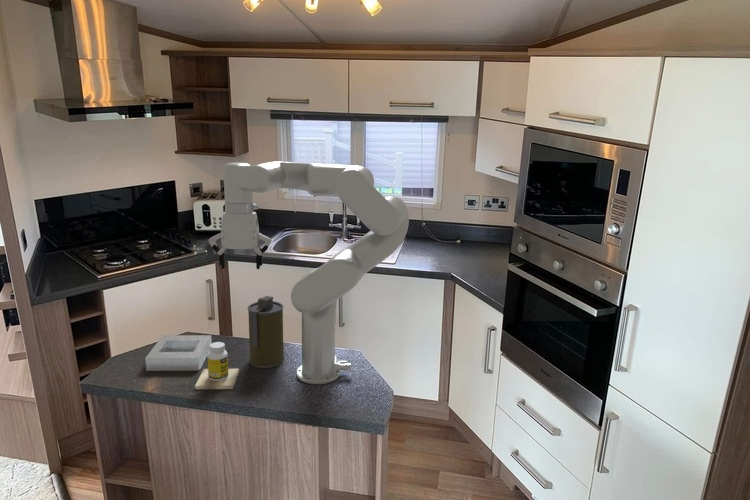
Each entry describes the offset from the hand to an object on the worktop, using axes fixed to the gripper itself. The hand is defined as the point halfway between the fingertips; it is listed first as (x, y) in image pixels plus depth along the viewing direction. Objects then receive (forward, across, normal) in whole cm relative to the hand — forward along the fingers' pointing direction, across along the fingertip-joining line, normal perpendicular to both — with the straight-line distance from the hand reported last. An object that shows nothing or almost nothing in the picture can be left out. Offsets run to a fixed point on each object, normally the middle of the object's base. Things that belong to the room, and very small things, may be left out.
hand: (241, 267), depth 153 cm
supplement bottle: (+30, +6, +9) cm, 31 cm away
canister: (+31, -6, -3) cm, 31 cm away
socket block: (+30, +20, -5) cm, 37 cm away
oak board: (+30, +6, +9) cm, 32 cm away
